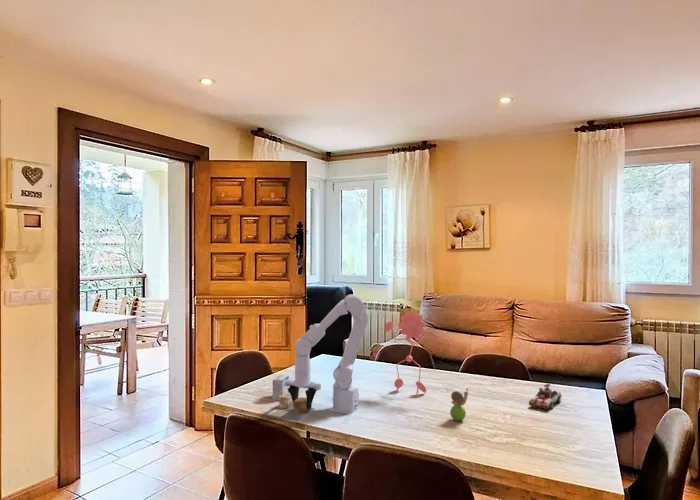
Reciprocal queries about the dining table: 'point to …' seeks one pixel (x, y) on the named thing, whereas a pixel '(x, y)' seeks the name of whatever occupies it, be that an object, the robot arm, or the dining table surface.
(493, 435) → the dining table surface
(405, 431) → the dining table surface
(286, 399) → the beech brick
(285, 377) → the medicine box
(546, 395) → the toy car
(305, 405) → the walnut brick
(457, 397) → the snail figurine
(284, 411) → the mat
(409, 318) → the figurine
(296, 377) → the robot arm
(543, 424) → the dining table surface
